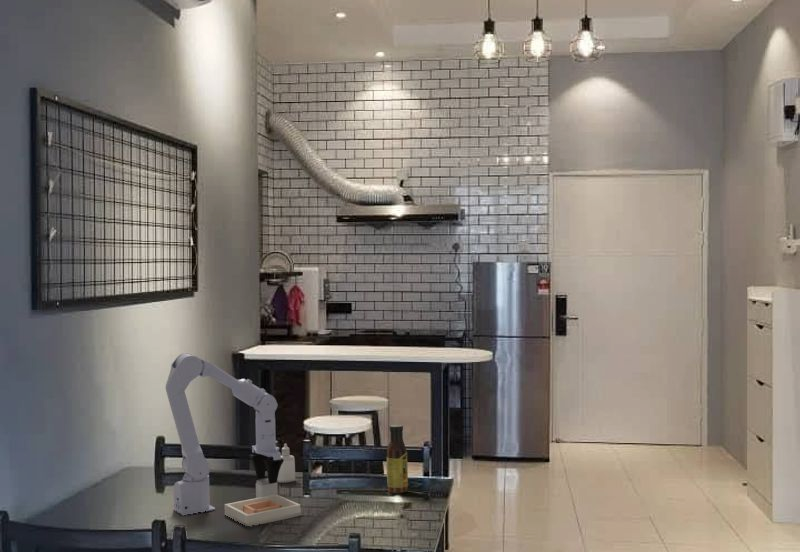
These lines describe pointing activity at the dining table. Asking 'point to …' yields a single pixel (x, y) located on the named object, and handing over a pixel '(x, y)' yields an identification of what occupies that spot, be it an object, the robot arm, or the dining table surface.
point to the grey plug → (265, 488)
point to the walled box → (262, 510)
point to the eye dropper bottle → (286, 467)
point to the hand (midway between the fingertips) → (266, 480)
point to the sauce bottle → (397, 461)
